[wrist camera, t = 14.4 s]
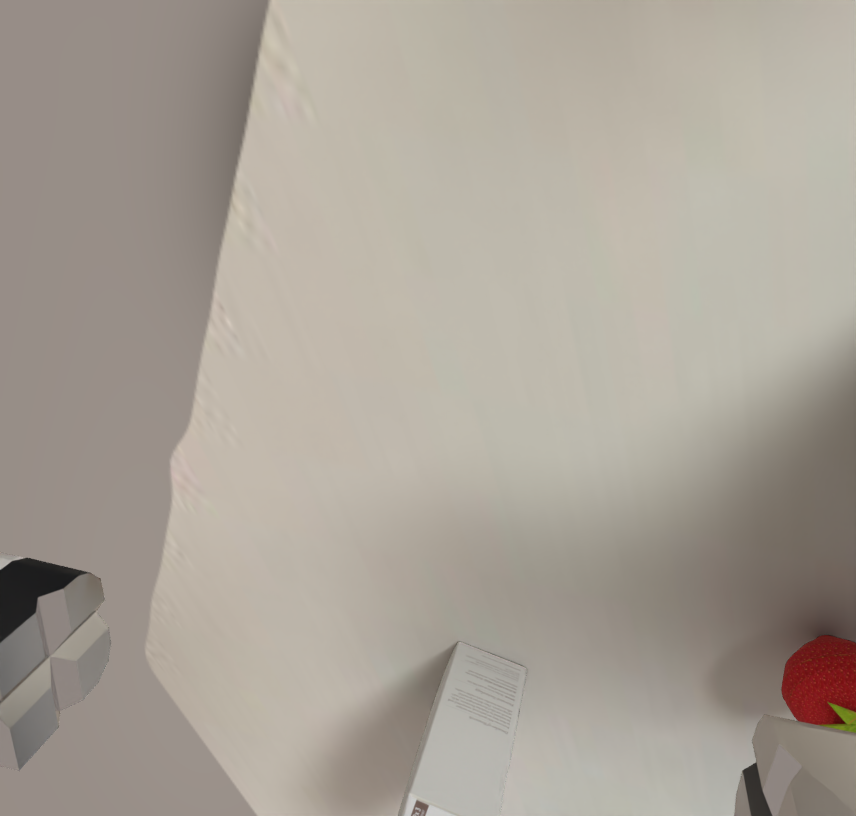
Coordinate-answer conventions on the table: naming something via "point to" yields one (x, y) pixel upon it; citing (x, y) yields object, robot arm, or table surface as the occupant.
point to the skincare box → (467, 738)
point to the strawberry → (823, 683)
